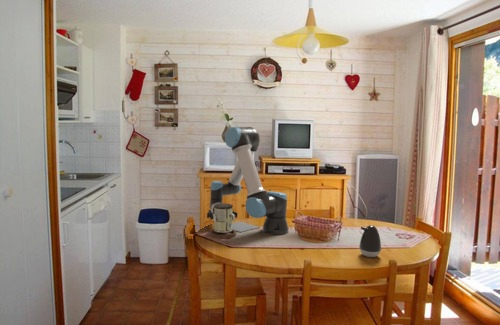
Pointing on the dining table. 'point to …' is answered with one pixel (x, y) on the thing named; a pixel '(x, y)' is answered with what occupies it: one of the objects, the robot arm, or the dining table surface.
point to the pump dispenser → (370, 242)
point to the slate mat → (243, 227)
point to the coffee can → (223, 217)
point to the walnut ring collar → (223, 235)
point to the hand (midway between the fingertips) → (224, 218)
